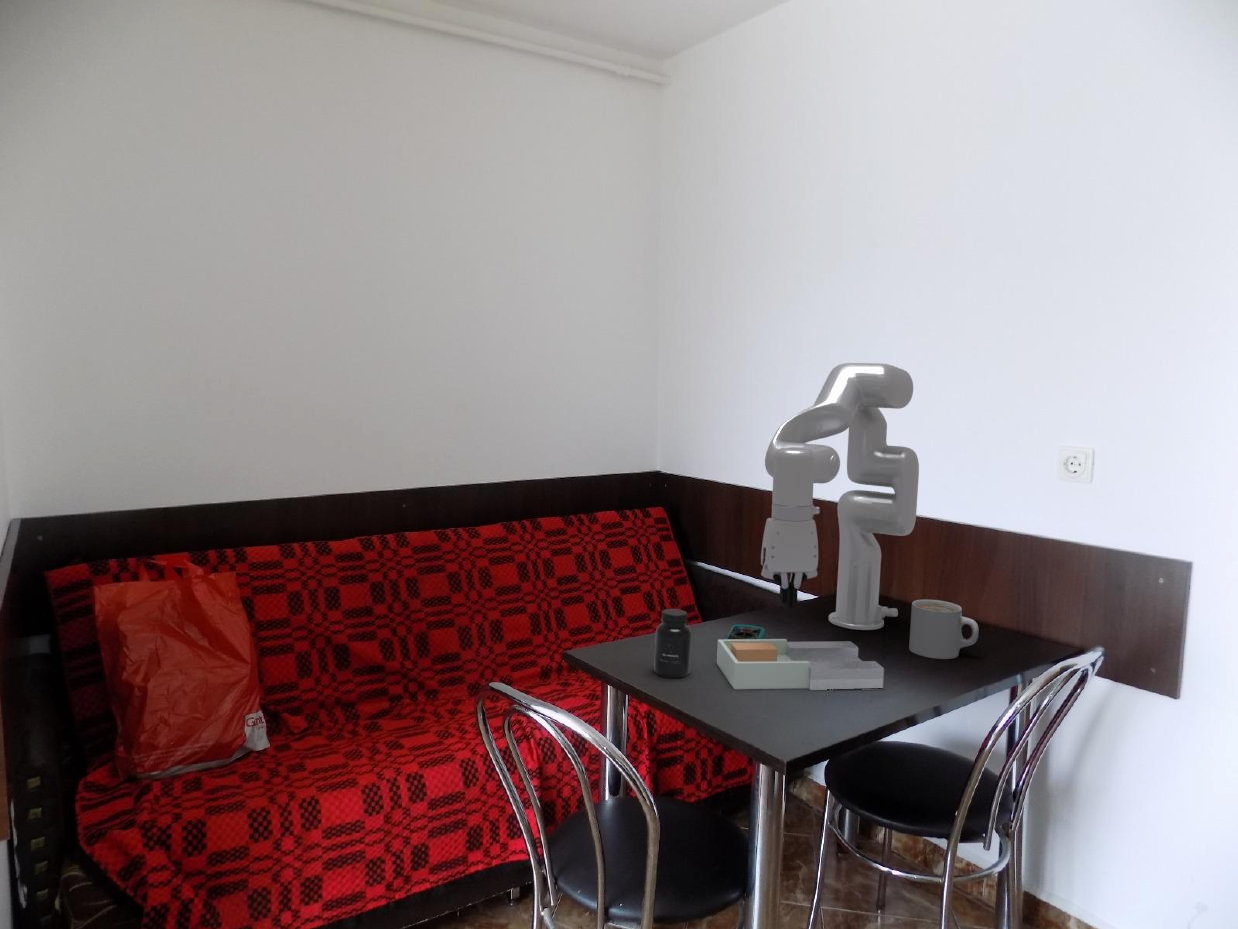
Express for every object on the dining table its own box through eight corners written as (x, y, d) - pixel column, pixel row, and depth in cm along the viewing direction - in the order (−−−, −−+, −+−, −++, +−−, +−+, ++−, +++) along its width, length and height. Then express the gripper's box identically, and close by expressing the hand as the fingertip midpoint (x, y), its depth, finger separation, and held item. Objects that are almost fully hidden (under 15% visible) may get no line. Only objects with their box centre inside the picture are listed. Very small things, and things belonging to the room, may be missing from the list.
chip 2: (770, 662, 164) (771, 642, 163) (776, 669, 160) (777, 649, 159) (750, 662, 163) (751, 642, 163) (756, 670, 159) (757, 649, 159)
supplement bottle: (663, 681, 157) (666, 618, 156) (648, 669, 163) (650, 608, 162) (696, 676, 160) (698, 615, 159) (679, 665, 166) (681, 606, 165)
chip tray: (784, 662, 169) (785, 639, 169) (808, 688, 156) (809, 662, 155) (716, 663, 168) (717, 639, 167) (734, 689, 154) (735, 663, 154)
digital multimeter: (765, 638, 187) (765, 625, 186) (755, 659, 172) (756, 645, 172) (732, 635, 189) (732, 622, 188) (720, 655, 175) (721, 641, 174)
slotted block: (849, 660, 172) (850, 641, 172) (882, 689, 156) (884, 668, 156) (783, 661, 170) (784, 641, 170) (809, 690, 155) (811, 669, 154)
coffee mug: (901, 651, 179) (904, 605, 178) (918, 641, 187) (921, 597, 186) (966, 666, 171) (970, 618, 170) (981, 655, 178) (985, 608, 177)
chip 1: (750, 662, 163) (751, 642, 163) (756, 670, 159) (757, 649, 159) (730, 663, 163) (731, 643, 162) (735, 670, 159) (736, 649, 158)
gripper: (822, 509, 164) (818, 600, 166) (748, 509, 162) (744, 602, 164) (837, 516, 156) (832, 612, 159) (758, 517, 155) (755, 613, 157)
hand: (788, 606), depth 161 cm, fingers closed
